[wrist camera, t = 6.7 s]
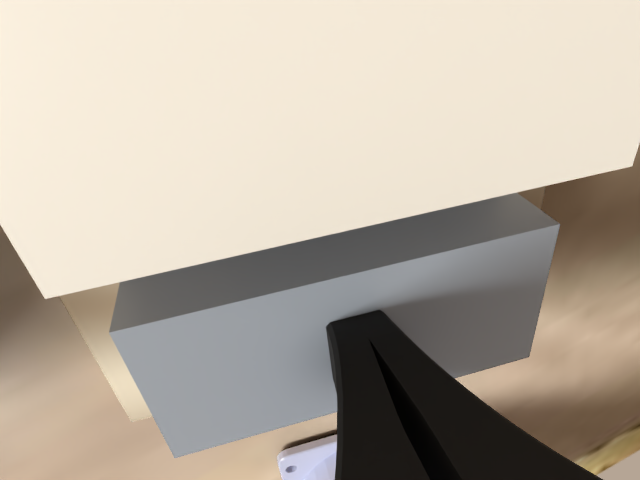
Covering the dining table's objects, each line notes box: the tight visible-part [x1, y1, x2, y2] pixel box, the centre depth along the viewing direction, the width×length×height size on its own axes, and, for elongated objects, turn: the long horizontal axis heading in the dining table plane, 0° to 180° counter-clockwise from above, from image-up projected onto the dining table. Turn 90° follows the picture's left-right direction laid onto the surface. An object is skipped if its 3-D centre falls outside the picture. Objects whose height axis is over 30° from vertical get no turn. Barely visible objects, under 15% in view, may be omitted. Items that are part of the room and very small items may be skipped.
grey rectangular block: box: [109, 192, 560, 458], centre depth 12 cm, size 4×10×4 cm, turn 96°
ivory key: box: [0, 0, 640, 299], centre depth 8 cm, size 4×10×4 cm, turn 96°
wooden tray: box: [59, 186, 546, 422], centre depth 10 cm, size 21×14×2 cm, turn 6°
